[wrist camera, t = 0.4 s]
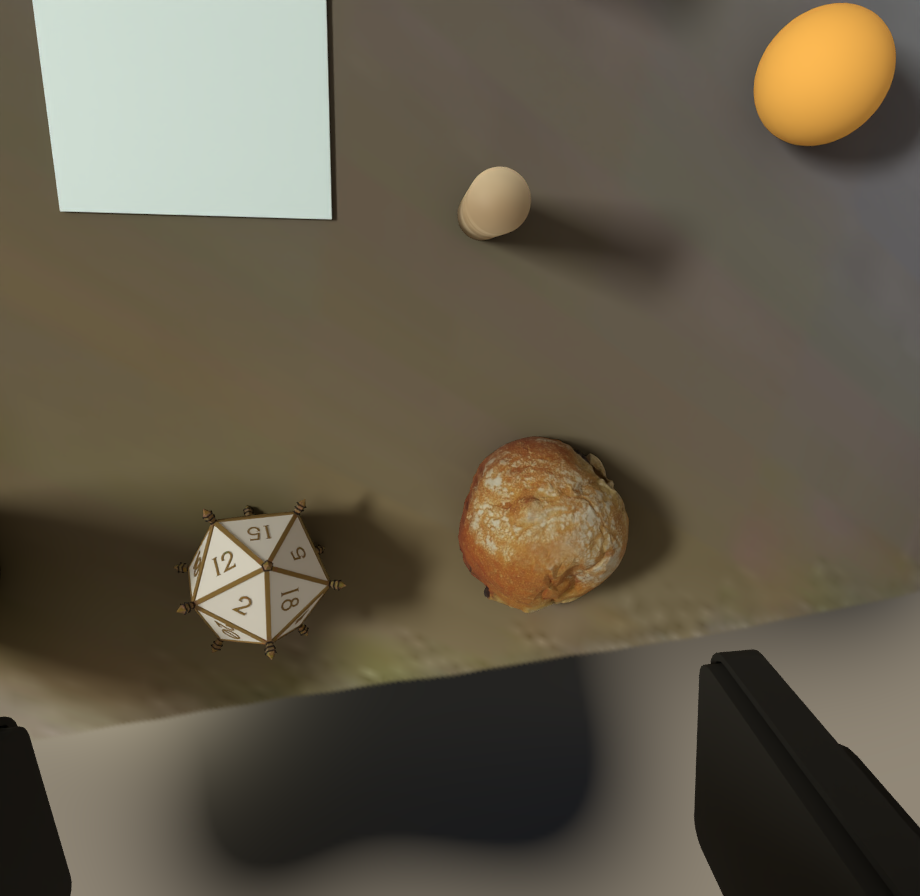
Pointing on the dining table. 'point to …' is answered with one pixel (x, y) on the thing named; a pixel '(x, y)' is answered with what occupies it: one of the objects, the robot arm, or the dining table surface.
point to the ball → (824, 74)
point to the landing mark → (188, 106)
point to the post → (494, 204)
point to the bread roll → (541, 524)
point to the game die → (256, 577)
